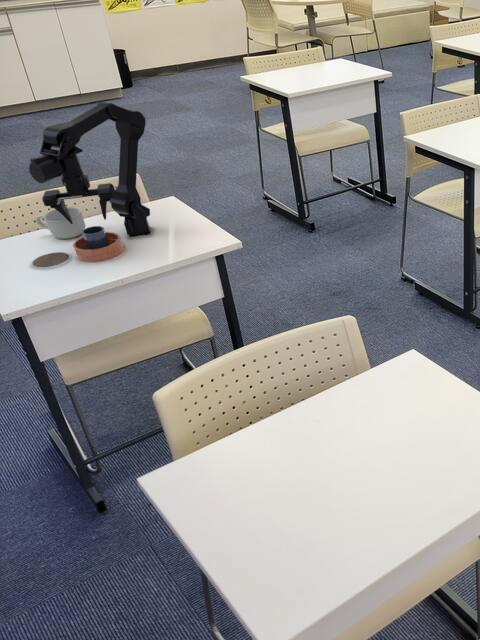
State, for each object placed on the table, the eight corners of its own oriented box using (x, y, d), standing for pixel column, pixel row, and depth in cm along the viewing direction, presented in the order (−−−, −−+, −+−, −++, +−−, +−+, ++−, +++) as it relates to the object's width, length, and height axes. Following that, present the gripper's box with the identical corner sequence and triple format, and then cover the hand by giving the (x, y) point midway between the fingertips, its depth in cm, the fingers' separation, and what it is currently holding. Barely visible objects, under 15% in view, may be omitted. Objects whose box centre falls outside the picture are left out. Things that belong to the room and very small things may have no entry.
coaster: (71, 252, 218) (70, 250, 218) (67, 265, 211) (67, 264, 210) (35, 257, 215) (35, 255, 215) (30, 271, 208) (30, 269, 207)
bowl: (125, 242, 224) (121, 229, 221) (123, 259, 214) (118, 246, 211) (80, 248, 220) (75, 235, 218) (75, 266, 210) (70, 253, 207)
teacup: (95, 229, 232) (87, 206, 227) (76, 243, 223) (68, 220, 219) (55, 228, 233) (47, 205, 229) (35, 242, 224) (26, 218, 220)
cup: (111, 246, 220) (104, 224, 215) (110, 255, 215) (102, 232, 211) (91, 249, 218) (83, 227, 214) (89, 258, 213) (81, 235, 209)
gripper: (108, 158, 210) (123, 207, 219) (39, 166, 205) (58, 215, 214) (105, 170, 202) (121, 220, 211) (33, 179, 197) (53, 230, 206)
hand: (88, 221), depth 211 cm, fingers open, 9 cm apart
